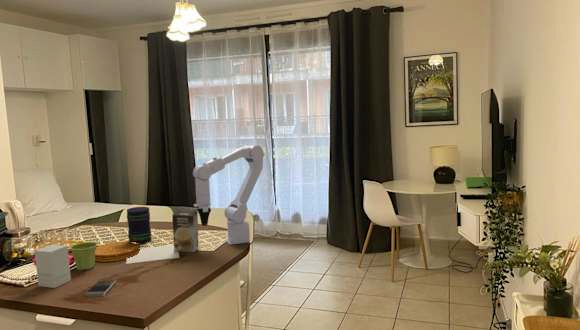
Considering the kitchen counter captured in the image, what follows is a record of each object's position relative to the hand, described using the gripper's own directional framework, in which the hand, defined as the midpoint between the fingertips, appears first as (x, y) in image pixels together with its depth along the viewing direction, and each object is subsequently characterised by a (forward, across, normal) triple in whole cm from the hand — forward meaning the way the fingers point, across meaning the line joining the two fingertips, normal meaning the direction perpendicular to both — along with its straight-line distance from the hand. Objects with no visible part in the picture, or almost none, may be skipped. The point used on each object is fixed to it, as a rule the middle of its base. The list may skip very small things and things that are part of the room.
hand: (204, 225), depth 182 cm
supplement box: (+10, +20, -54) cm, 58 cm away
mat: (+10, 0, -22) cm, 24 cm away
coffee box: (+10, 0, -8) cm, 12 cm away
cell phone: (+11, +32, -38) cm, 51 cm away
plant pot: (+10, +7, -46) cm, 48 cm away
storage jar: (+10, -22, -27) cm, 36 cm away
